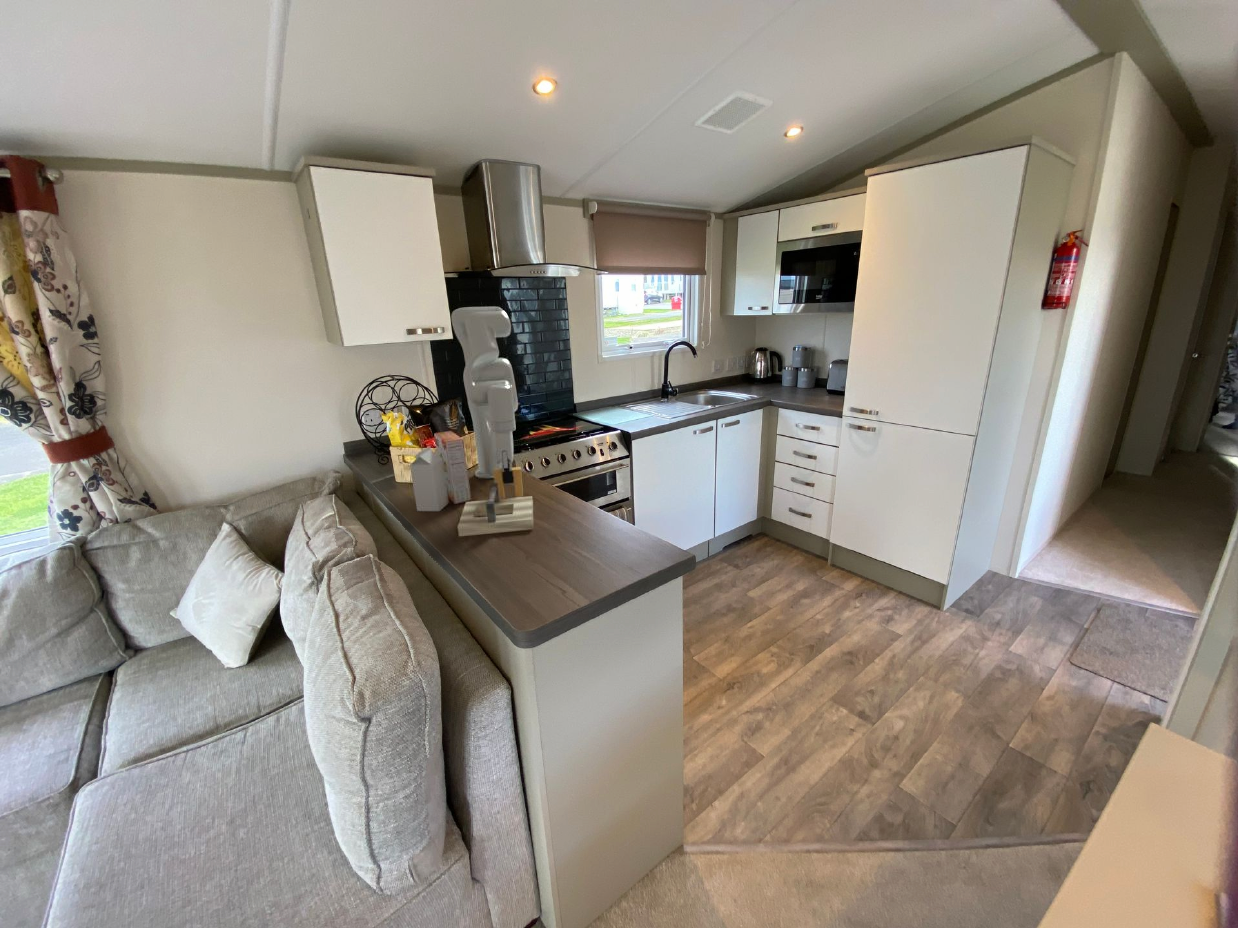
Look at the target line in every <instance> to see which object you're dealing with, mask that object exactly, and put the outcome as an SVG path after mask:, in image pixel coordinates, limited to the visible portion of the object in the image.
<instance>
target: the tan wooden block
mask: <svg viewBox="0 0 1238 928" xmlns="http://www.w3.org/2000/svg"><path fill="white" fill-rule="evenodd" d="M512 467H513V466H512ZM511 469H512V471H513V477H514V479H513V481H514V482H513V484H514V493H515V494H514V496H515V498H518V497H524V487H523V477H522V476H523V475H522V474H523V473H522V467H521V466H516V467H513V468H511ZM493 480H494V483H498V492H499V499H505V496H506V495H505V488H504V487H505V486H504V483H503V476H502V468H499V469H494V478H493Z"/></svg>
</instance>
